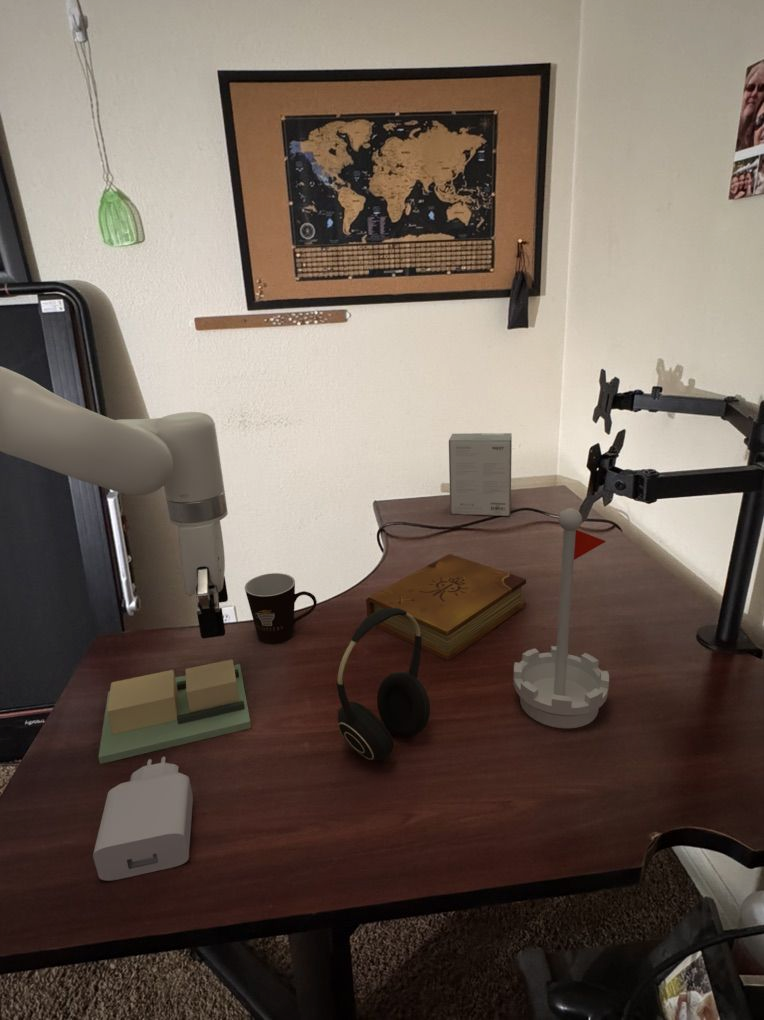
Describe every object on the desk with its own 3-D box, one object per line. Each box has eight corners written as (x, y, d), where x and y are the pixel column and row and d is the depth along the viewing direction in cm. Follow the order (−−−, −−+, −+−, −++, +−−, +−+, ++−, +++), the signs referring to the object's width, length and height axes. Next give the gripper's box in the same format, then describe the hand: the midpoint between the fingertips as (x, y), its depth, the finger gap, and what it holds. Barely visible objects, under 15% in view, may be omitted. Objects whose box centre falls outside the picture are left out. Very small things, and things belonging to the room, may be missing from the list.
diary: (446, 578, 129) (446, 552, 127) (525, 606, 117) (526, 578, 115) (367, 622, 114) (365, 594, 112) (447, 661, 102) (447, 630, 100)
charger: (196, 766, 82) (189, 864, 69) (122, 781, 81) (100, 883, 67) (191, 737, 81) (182, 831, 67) (115, 751, 79) (91, 850, 65)
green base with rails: (99, 764, 84) (91, 732, 82) (109, 697, 97) (102, 669, 95) (251, 728, 89) (246, 697, 87) (240, 669, 102) (236, 642, 101)
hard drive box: (511, 506, 166) (513, 433, 159) (509, 517, 159) (512, 440, 152) (452, 504, 170) (452, 432, 163) (449, 514, 163) (448, 439, 156)
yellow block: (190, 715, 90) (186, 692, 89) (189, 690, 96) (185, 668, 94) (239, 703, 92) (236, 681, 91) (236, 680, 98) (232, 658, 96)
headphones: (445, 729, 87) (444, 601, 80) (368, 790, 77) (359, 651, 70) (400, 702, 93) (395, 581, 86) (323, 756, 83) (310, 624, 76)
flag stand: (532, 739, 84) (542, 533, 73) (500, 681, 96) (505, 497, 86) (623, 726, 86) (646, 522, 75) (581, 670, 98) (595, 488, 87)
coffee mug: (241, 638, 111) (234, 588, 108) (275, 617, 118) (269, 569, 114) (289, 658, 105) (283, 605, 101) (323, 634, 111) (318, 584, 108)
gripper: (175, 489, 91) (193, 593, 97) (159, 533, 75) (182, 655, 81) (228, 484, 93) (243, 587, 99) (223, 526, 77) (241, 647, 83)
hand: (215, 618), depth 90 cm, fingers open, 9 cm apart
